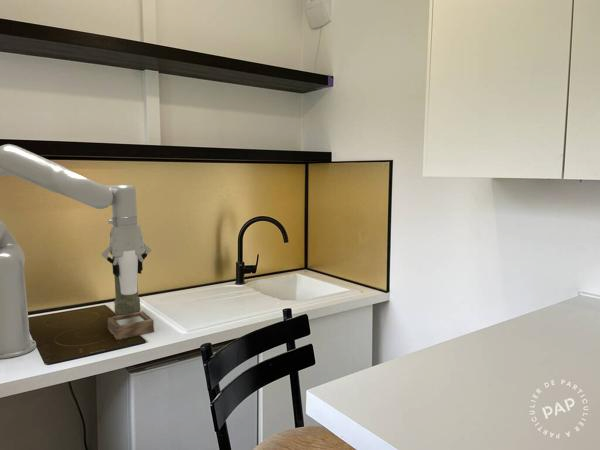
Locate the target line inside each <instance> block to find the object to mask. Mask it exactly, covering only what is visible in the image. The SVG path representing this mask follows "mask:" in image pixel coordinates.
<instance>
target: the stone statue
mask: <svg viewBox="0 0 600 450" xmlns="http://www.w3.org/2000/svg"><path fill="white" fill-rule="evenodd" d="M112 258H113V256H112V257H111V259H112ZM113 276H114V291H115V298H114V301H113V303H114V313H115V316H120V315H125V314H130V313H136V312H141V299H140V296H139V288H138V282H137V289H138V291H137V293H135V294H132V295H123V294H121V289H120V281H119V277H116V276H115V274H113Z"/></svg>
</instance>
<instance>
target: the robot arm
mask: <svg viewBox="0 0 600 450" xmlns="http://www.w3.org/2000/svg"><path fill="white" fill-rule="evenodd" d="M10 175H11V176H13V177H15V178H18V179H19V180H22V181H25V182H28V183H30V184H33V185H35V186H37V187H40V188H42V189H45V190H47V191H50V192H52V193H56V194H59V195H61V196H64V197H66V198H69V199H72V200H74V201H76V202H79V203H81V204H84V205H86V206H89V207H92V208H93V209H96V210H104V209H107V208H109V206H111V207H112V208H111V210H112V212H111V213H112V217H111V219H110V218H109V219H108V220H107V221H108V225H110V224H112V226H111V227H110V232H109V233H110V234H109V245H108V247H107V248H106V249H105V250H104V251H103V252H102V253H101V254H100V255H101V257H102V258H104V259H105V260H106V261H107V262H108V263H110V264H112V266H111V267H112V274H113V275H114V274H115V276H116V277H119V265H117V262H118V257H122V256H123V252H125V251H135V255H138V275H140V274H142V271H143V269H144V268H143V262H144V260H145V259H146V258H147V257H148V255H149V254H150V252H152V249H151V248H150V247H148V245H146V244H145V243H144V238H143V231H142V227H141V225H139V224H138V211H137V207H138V206H137V190H136V187H135V186H134V185H132V184H114V185H105V184H102V183H99V182H97V181H94V180H92V179H89V178H87V177H84V176H82V175H81V174H78V173H77V172H74V171H72V170H70V169H68V168H66V167H65V166H63V165H61V164H59V163H57V162H55V161H52V160H49V159H47V158H45V157H43V156H40V155H38V154H36V153H34V152H31V151H29V150H27V149H25V148H23V147H20V146H18V145H16V144H15V145H14V144H10V143H7V144H3V145H0V178H3V177H7V176H10ZM109 254H110V256H112V257H113V258H112V257H110V256H109ZM25 263H26V256H25V252H24V250H23V249H22V247H21V246H20V245H19V243H18V242H17V240H16V239H15V237H14V236H13V234H12V233H11V231H10V230H9V228H8V227H7V226H6V224H5V223H4V222H3V220H2V219H0V359H10V358H15V357H19V356H22V355H26V354H29V352H31V351H33V350H36V349H35V348H36V347H37V342H36V341H35V339H34V340H33V339H31V335H30V325H29V313H28V312H29V311H28V299H27V287H26V279H25Z"/></svg>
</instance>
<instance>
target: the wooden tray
mask: <svg viewBox="0 0 600 450" xmlns="http://www.w3.org/2000/svg"><path fill="white" fill-rule="evenodd" d="M107 329H108V331H109V332H110V334H113V335H114V336H113V335H112V336H113V338H115V339H116V341H119V340H123V338H124V339H128V337H129V338H132V337H138V336H142V335H148V334H151V333H155V322H154V319H153V318H152V317H150V315H148V314H147V313H146V312H145V311H143V310H140V312H136V313H130V314H125V315H120V316H116V315H115V316H109V317H107ZM118 339H119V340H118Z"/></svg>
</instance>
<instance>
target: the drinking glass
mask: <svg viewBox="0 0 600 450" xmlns="http://www.w3.org/2000/svg"><path fill="white" fill-rule="evenodd" d="M117 265H119V281H120V289H121V294H123V295H132V294H135V293H137V291H138V292H139V288H138V289H137V283H138V280H139V279H138V277H139V276H138V275H139V273H138V255H135V251H125V252H123V256H122V257H118V262H117Z"/></svg>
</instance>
